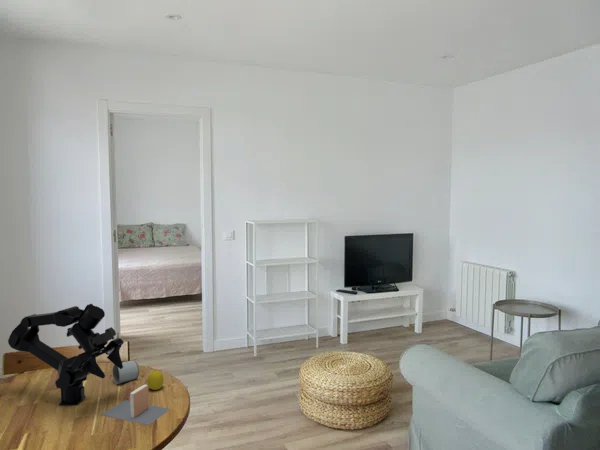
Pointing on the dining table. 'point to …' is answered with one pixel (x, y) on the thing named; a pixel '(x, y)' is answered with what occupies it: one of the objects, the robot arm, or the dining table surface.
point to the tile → (139, 401)
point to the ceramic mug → (125, 372)
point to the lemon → (155, 380)
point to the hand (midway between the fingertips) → (113, 372)
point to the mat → (145, 417)
